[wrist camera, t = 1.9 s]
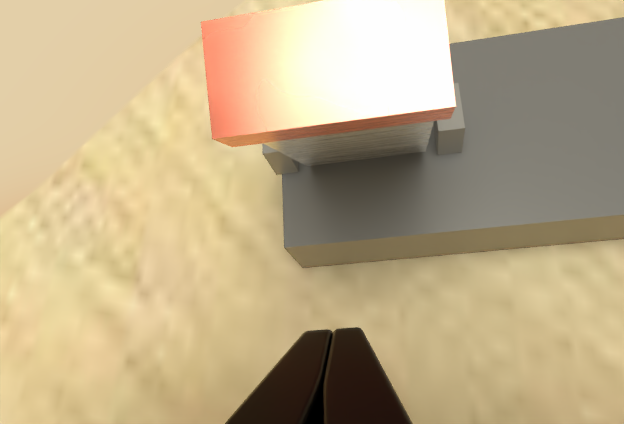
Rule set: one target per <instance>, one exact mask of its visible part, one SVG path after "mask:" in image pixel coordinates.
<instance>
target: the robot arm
mask: <svg viewBox="0 0 624 424" xmlns="http://www.w3.org/2000/svg"><path fill="white" fill-rule="evenodd" d="M225 424H413V423H412V422H411V420H410V418H409V416H408V414H407V412H406V410H405V409H404V407H403V405H402V403H401V401H400V399H399V397H398V396H397V394H396V392H395V390H394V388H393V386H392V384H391V383H390V381H389V379H388V377H387V375H386V373H385V371H384V370H383V368H382V366H381V364H380V362H379V360H378V358H377V357H376V355H375V353H374V351H373V349H372V347H371V345H370V343H369V342H368V340H367V338H366V336H365V334H364V332H363V331H362V330H361V328H357V327H356V328H342V329H336V330H335V331H334V332H332V331H331V330H314V331H306V332H305V333H303V334H302V335H301V337H300V338H299V339H298V340H297V341H296V342H295V343H294V345H293V346H292V347H291V348H290V349H289V350H288V351H287V353H286V354H285V355H284V356H283V357H282V358H281V360H280V361H279V362H278V363H277V364H276V365H275V366H274V368H273V369H272V370H271V371H270V372H269V373H268V374H267V376H266V377H265V378H264V379H263V380H262V381H261V383H260V384H259V385H258V386H257V387H256V388H255V389H254V391H253V392H252V393H251V394H250V395H249V396H248V397H247V399H246V400H245V401H244V402H243V403H242V404H241V406H240V407H239V408H238V409H237V410H236V411H235V412H234V414H233V415H232V416H231V417H230V418H229V419H228V421H227V422H226V423H225Z"/></svg>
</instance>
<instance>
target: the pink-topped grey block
mask: <svg viewBox="0 0 624 424" xmlns="http://www.w3.org/2000/svg"><path fill="white" fill-rule="evenodd" d="M201 28H202V38H203V49H204V59H205V69H206V79H207V90H208V100H209V110H210V120H211V131H212V139H214V140H216V141H219V142H221V143H223V144H226V145H228V146H231V147H237V146H245V145H253V144H260V143H263V144H265V145H267V146H269V147H271V148H273V149H275V150H277V151H279V152H281V153H283V154H284V155H286V156H288V157H290V158H292V159H294V160H296V161H298V162H300V163H302V164H304V165H306V166H312V165H321V164H329V163H337V162H345V161H353V160H362V159H370V158H378V157H386V156H395V155H403V154H411V153H419V152H426V149H427V145H428V141H429V137H430V134H431V130H432V126H433V123H434V121H437V120H445V119H451V117H452V114H453V112H454V110H455V107H456V103H455V94H454V85H453V76H452V67H451V58H450V49H449V40H448V31H447V22H446V13H445V4H444V0H326V1H320V2H314V3H308V4H302V5H296V6H291V7H285V8H279V9H273V10H267V11H261V12H255V13H250V14H244V15H238V16H232V17H226V18H220V19H214V20H209V21H203V22H201Z"/></svg>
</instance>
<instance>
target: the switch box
mask: <svg viewBox="0 0 624 424" xmlns="http://www.w3.org/2000/svg"><path fill="white" fill-rule="evenodd" d="M449 49H450V58H451V67H452V76H453V85H454V94H455V103H456V107H455V110H454V112H453V114H452V117H451V119H445V120H437V121H434V123H433V126H432V130H431V134H430V137H429V141H428V145H427V149H426V152H419V153H411V154H403V155H395V156H386V157H378V158H370V159H362V160H353V161H345V162H337V163H329V164H321V165H312V166H306V165H304V164H302V163H300V162H298V161H296V160H294V159H292V158H290V157H288V156H286V155H284V154H283V153H281V152H279V151H277V150H275V149H273V148H271V147H269V146H267V145H265V144H263V155H264V156H265V158H266V159H267V161H268V162H269V164H270V166H271V167H272V169H273V170H274V172H275V173H276V175H279V174H282V188H283V222H284V248H285V249H286V250H287V251H288V252H289V253H290V254H291V256H292V257H293V258H294V259H295V260H296V261H297V262H298V263H299V264H300V265H301V266H302V268H305V267H316V266H327V265H338V264H349V263H360V262H371V261H382V260H393V259H404V258H415V257H426V256H437V255H448V254H459V253H470V252H482V251H493V250H504V249H515V248H526V247H537V246H548V245H559V244H570V243H581V242H592V241H603V240H614V239H624V17H623V18H617V19H610V20H604V21H597V22H591V23H584V24H577V25H571V26H564V27H558V28H551V29H545V30H538V31H531V32H525V33H518V34H512V35H505V36H499V37H492V38H485V39H479V40H472V41H466V42H459V43H453V44H449Z"/></svg>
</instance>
